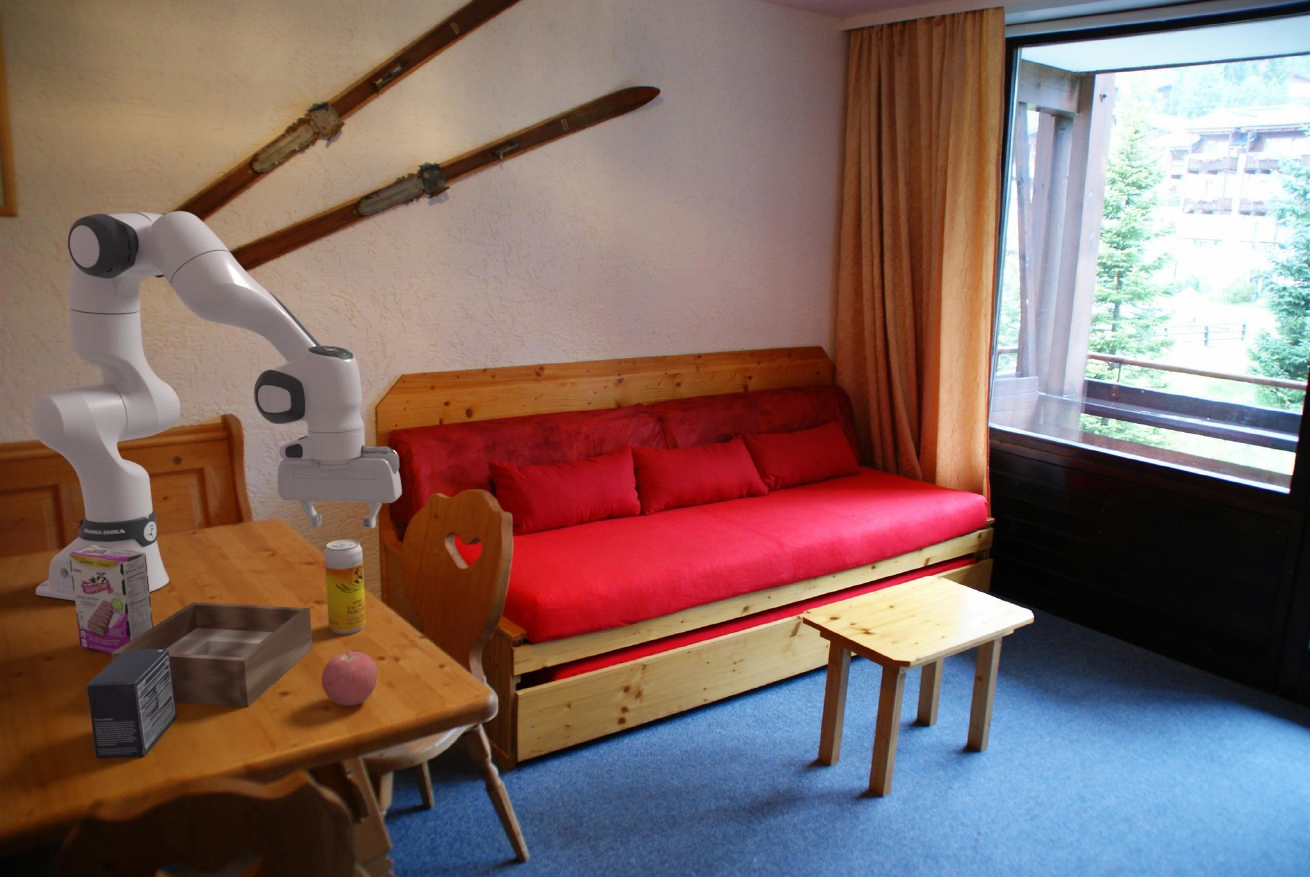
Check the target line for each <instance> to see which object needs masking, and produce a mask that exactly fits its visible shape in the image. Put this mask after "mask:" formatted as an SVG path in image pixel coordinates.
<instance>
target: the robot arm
mask: <svg viewBox="0 0 1310 877" xmlns="http://www.w3.org/2000/svg"><path fill="white" fill-rule="evenodd" d="M68 232H69V233H68V236H67V249H68V251H69V255H70V258H71V260H72V261H73V262H72V267H71V271H70V272H71V273H70V282H69V295H68V296H69V298H68V300H69V301H68V302H69V304H68V305H69V327H70V345H71V348H72V350H73V352H74V354H75V355H76V356H77V357H78V358H79V359H81V360H82V361H84V362H86V363H88V364H90V365H92V366H95V367H98V368H99V369H100V370H101V374H102V380H103V381H102V383H99V384H93V385H84V386H83V385H82V386H75V387H68V388H63V389H60V390H57V391H54V392H50V393H47V394H45V395H42V396H40V397H38V398H37V400H36V401H35V402H34V404H33V405H32V406H33V407H32V409H31V412H30V426H31V430H32V431H33V434H34V436H35V437H36V438H37V440H39V441H40V442H41V443H42V445H44V446H46V447H47V448H49V449H51V450H53V451H55V452H57V453H58V454H60V455H61V456H63V457H64V459H66V460H67V462H69V464H70V465H71V466H72V468H73V469H74V471H75V473H76V475H77V478H78V480H79V484H80V489H81V493H82V499H83V506H84V512H85V517H82V518H81V519H80V520H78V521H76V522H73V523H71V524H72V525H73V528H72V529H73V530H76V529H78V528H80V529H79V533H78V537H76V538H75V539H74V540H73V541H72V542H71V543H69V544H68V545H66V547H64V548H63V549H62V550H61V551H60V552H58V553H57V554H56V555H55V556H54V557H52V558H51V561H50V564H49V569H48V579H47V580H46V579H45V581H43V582H41V583H40V584H39V585H38V586H37V587H36V588H35V595H36V596H39V597H41V596H42V597H49V598H55V599H60V600H61V599H62V600H69V601H75V597H74V589H73V581H72V573H71V565H70V556H69V554H70V553H72V552H74V551H77V550H80V549H83V548H87V547H90V546H93V545H97V546H103V547H109V548H115V549H122V550H128V551H134V552H141V553H146V562H147V572H148V582H149V591H150V592H154V591H156V590H158V589H160V588H162V587H164V586H166V585H167V584H168V583H169V581H170V577H169V576H168V573H167V571H166V568H165V565H164V563H163V560H162V556H161V553H160V549H159V546H158V544H159V543H158V523H157V521H158V520H157V514H156V510H154V508H153V501H152V491H151V481H150V475H149V473H148V472H147V470H146V468H144V467H143V466H142V465H140V464H138V463H137V462H134V461H130V460H127V459H125V458H122V456H121V454H120V452H119V449H118V443H119V442H126V441H132V440H137V439H143V438H148V437H151V436H154V435H158V434H160V433H162V432H165V431H167V430H169V429H171V428H173V427H174V426H176V424H177V423H178V420H179V418H180V415H181V414H180V413H181V403H180V399H179V397H178V394H177V392H176V391H175V390H174V388H173V387H172V386H171V385H170V384H169V383H167V382H165V381H163V380H162V379H161V378H160V377H159V376H158V375H156V373H155V372H154V371H153V370H152V368H151V366H150V365H149V363H148V360H147V358H146V355H145V352H144V347H143V345H144V344H143V338H142V337H143V336H142V322H141V320H142V319H141V315H142V314H141V298H140V288H141V284H142V282H143V281H144V279H146V278H148V277H155V278H157V279H160V278H165V279H166V282H167V283H168V284H169V285H170V287H171V288H172V290H173V291H174V293H175V294H176V296H177V297H178V298H179V300H180V301H181V302H182V303H183V305H184V306H185V307H186V308H187V309H189V310H190V311H191V312H192V313H193V314H194V315H195V316H196V317H199V318H200V319H203V320H205V321H208V322H211V323H215V324H222V325H227V326H232V327H233V326H234V327H235V328H240V329H244V330H247V331H251V332H252V333H255V334H258V335H259V336H261V337H263V338H264V339H265V340H267V341H268V342H269V343H270V344H271V345H272V346H273V347H274V349H275V350H277V351H278V353H279V354H280V355H281V356H282V357H283V358H284V359H285V361H287V363H284V364H282V365H281V364H280V365H278V366H276V367H272V368H269V369H266V370H264V371H263V372H261V373H260V375H258V377H257V380H256V381H255V384H254V388H253V390H254V391H253V398H254V404H255V406H256V408H257V410H258V412H259V414H260V415H261V416H262V417H263V418H264V419H265V420H266V421H268V422H269V423H272V424H275V425H291V424H295V423H299V422H303V423H305V424H306V425H307V435H305V436H302V437H299V438H298V439H295V440H292V441H290V442H287V443H286V444H284V445H282V446H281V445H280V447H279V450H278V451H279V452H278V453H279V456H280V458H281V459H282V460H280V462H279V464H278V467H277V494H278V495H279V496H280V498H281V499H282V500H284V501H293V502H294V501H295V502H300V507H301V509H302V510H303V512H304V513H305V515H306V516H307V517H308V525H309V527H320V526H322V524H323V520H322V519H323V516H322V514H321V513H320V514H319V513H317V511H316V510H315V508H314V506H313V505H315V502H335V503H336V502H337V503H341V502H342V503H368V505H367V506H368V509H370V512H369V514H368V515H366V516H364V517H363V518H362V522H363V528H364V529H374V528H375V527H376V525H377V517H376V516H377V515H378V512H380V509H381V507H382V504H390V503H391V504H392V503H394V502H395V501H397V500H398V499H399V498H400V497H401V495H402V494H403V492H402V491H403V490H402V488H403V487H402V483H401V482H402V481H401V475H400V472H399V469H400V456H399V454H398V453H397V452H396V451H395V450H394V449H392V448H391V447H389V446H386V445H385V446H384V445H382V446H375V445H366V438H365V436H366V435H365V425H364V420H363V418H362V413H361V410H362V404H363V390H362V380H361V373H360V368H359V364H358V362H357V359H356V357H355V355H354V354H353V353H352V352H351V351H350V350H348V349H346V348H342V347H340V346H339V347H338V346H335V345H334V346H333V345H330V346H329V345H321V344H320V343H319V342H318V340H317V339H316V338H315V337H314V336H313V335H312V334H311V333H310V332H309V330H307V328H306V327H305V326H304V325H303V324H302V323H301V322H300V321H299V319H298V318H297V317H296V316H295V315H294V314H293V312H291V310H290V309H289V308H288V307H286V305H284V304H283V302H282V301H281V300H279V298H278V297H276V296H275V295H274V294H273V293H272V292H270V291H269V290H267V289H266V288H265V287H264V286H262V285H261V283H258V282H257V280H256V279H254V278H253V277H252V276H251V275H250V273H248V272H247V271H246V270H245V269H244V267H243V266H242V265H241V264H240V263H239V262H238V261H237V259H236V258H235V256H234V255H233V254H232V253H231V251H230V250H229V249H228V248H227V246H226V245H225V244H224V242H223V241H222V240H221V239H220V237H219V236H217V235H216V233H215V232H214V231H213V230H212V229H211V228H210V226H208V225H207V224H206V223H205V222H203V221H202V220H201V219H200V218H199V217H198V216H196V215H195V214H193V213H191V212H188V211H183V210H178V211H171V212H168V213H162V214H161V213H156V212H154V213H153V212H144V211H131V212H122V213H110V214H106V213H93V214H90V215H86V216H83V217H80V218H78V219H76V220H75V221H74V222H73V224H72V225H71V227H70V229H69V231H68ZM74 525H75V526H74Z"/></svg>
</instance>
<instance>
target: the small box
mask: <svg viewBox="0 0 1310 877" xmlns="http://www.w3.org/2000/svg"><path fill="white" fill-rule="evenodd" d="M86 692H87V699H88V705H89V706H88V707H89V714H90V721H91V728H92V734H93V735H92V736H93V738H92V739H93V743H94V752H95V753H94V754H95V759H96V760H97V759H99V760H100V759H101V760H102V759H124V758H125V759H126V758H127V759H128V758H144V757H146V756H147V754H149V752H150V751H151V750H152V749H153V747H154V746H155V745H156V744H157V743H158V742H159V740H160V739H161V738H162V737H163V735H164V734H165V733H166V732H167V731H168V729H169V728H170V727H171V726H172V725H173V724H174V722H175V721H176V719H178V715H177V714H178V713H177V707H176V704H175V703H176V702H175V701H174V693H173V685H172V675H171V667H170V657H169V649H149V650H129V651H123V652H122V653H121V654H119V655H118V656H117V657H116V658H115V659H114V660H113V661H111V662H109V664H107V665H106V666H105V667H104V668H103V669H102V670H101V671H100V672H99V673H97V674H96V675H95V676H94V677H93V678H92V679H91V680H90V681H89V682H88V683H87V684H86Z"/></svg>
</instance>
